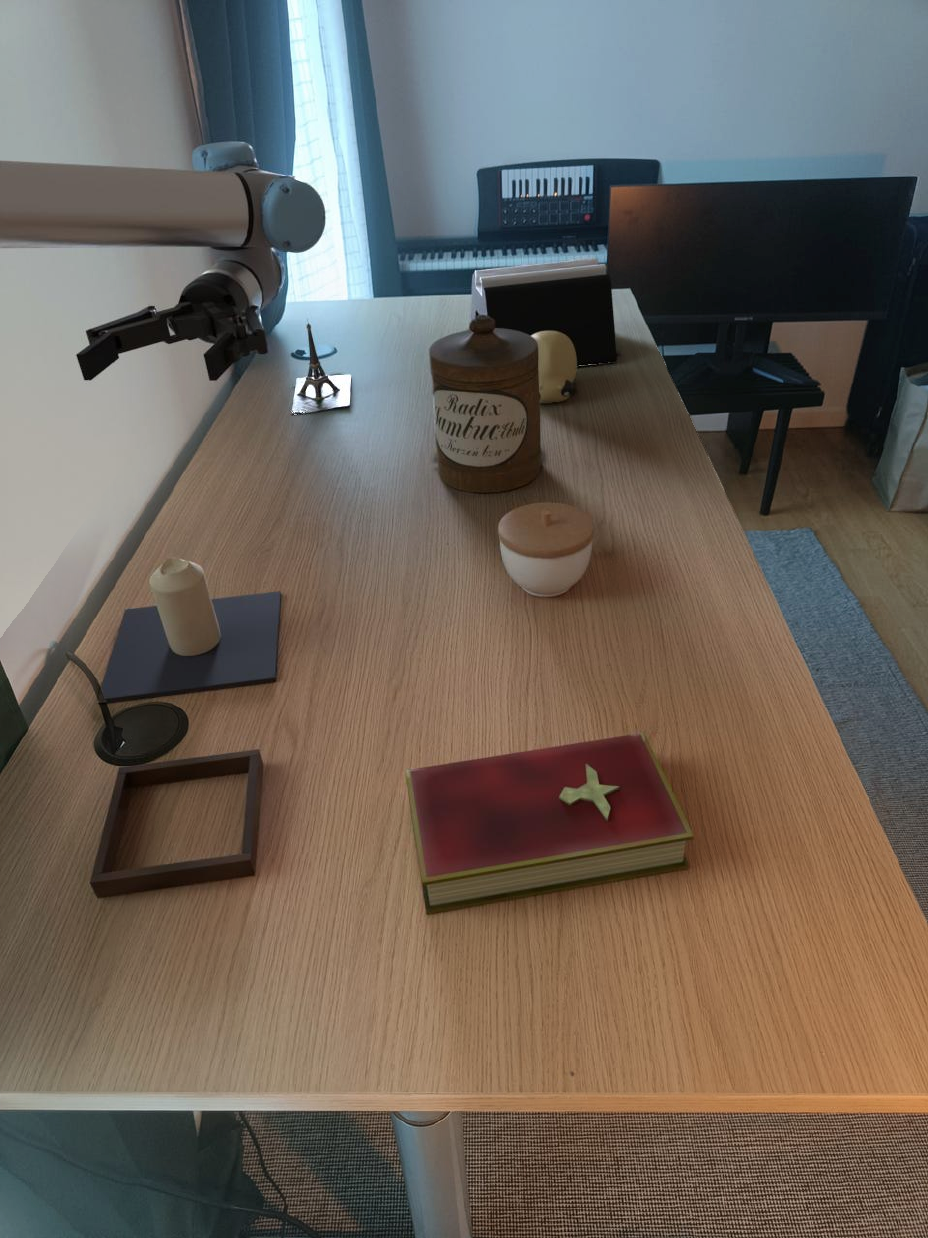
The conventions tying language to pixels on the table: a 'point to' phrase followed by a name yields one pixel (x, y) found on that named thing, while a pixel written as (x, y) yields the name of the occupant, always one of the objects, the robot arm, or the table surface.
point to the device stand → (552, 303)
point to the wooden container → (486, 407)
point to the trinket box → (546, 546)
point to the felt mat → (158, 671)
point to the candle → (185, 607)
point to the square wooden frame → (187, 871)
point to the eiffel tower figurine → (320, 386)
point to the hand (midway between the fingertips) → (145, 367)
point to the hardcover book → (544, 822)
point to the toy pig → (555, 366)
